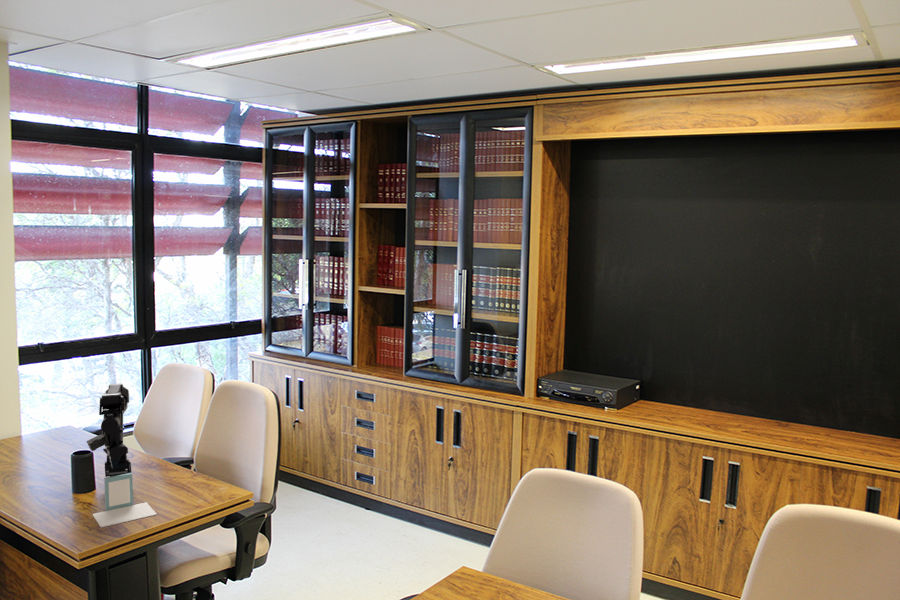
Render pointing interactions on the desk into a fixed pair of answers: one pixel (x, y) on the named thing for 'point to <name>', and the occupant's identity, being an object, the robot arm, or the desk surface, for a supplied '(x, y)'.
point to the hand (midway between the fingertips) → (114, 468)
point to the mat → (124, 514)
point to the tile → (118, 491)
